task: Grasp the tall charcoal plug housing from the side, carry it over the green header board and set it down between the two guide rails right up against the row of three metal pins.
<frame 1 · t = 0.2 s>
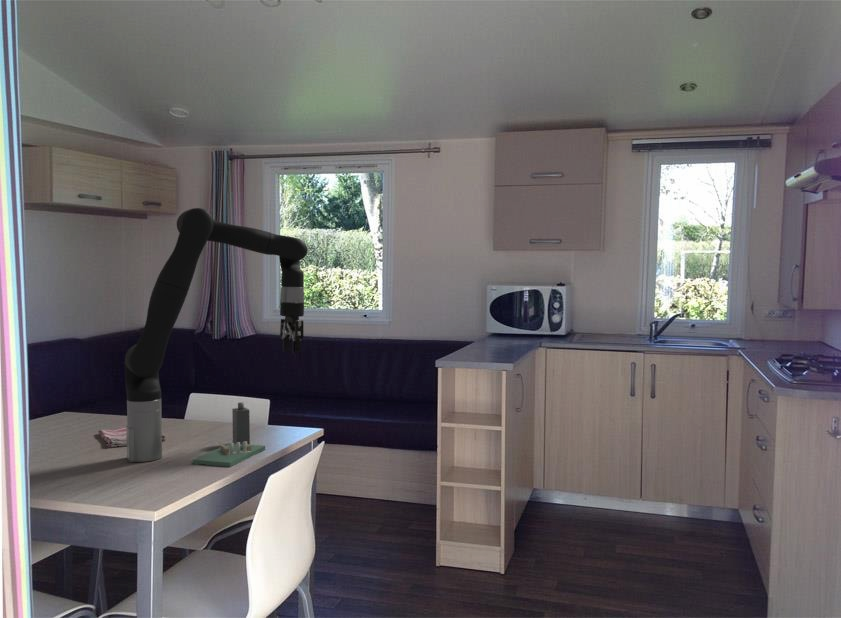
hand: (291, 352, 222), 29 cm above the table, tool pointing down, fingers open, 8 cm apart
plug housing: (241, 443, 219), on the table
dish towel: (131, 439, 227), on the table
header board: (230, 456, 203), on the table
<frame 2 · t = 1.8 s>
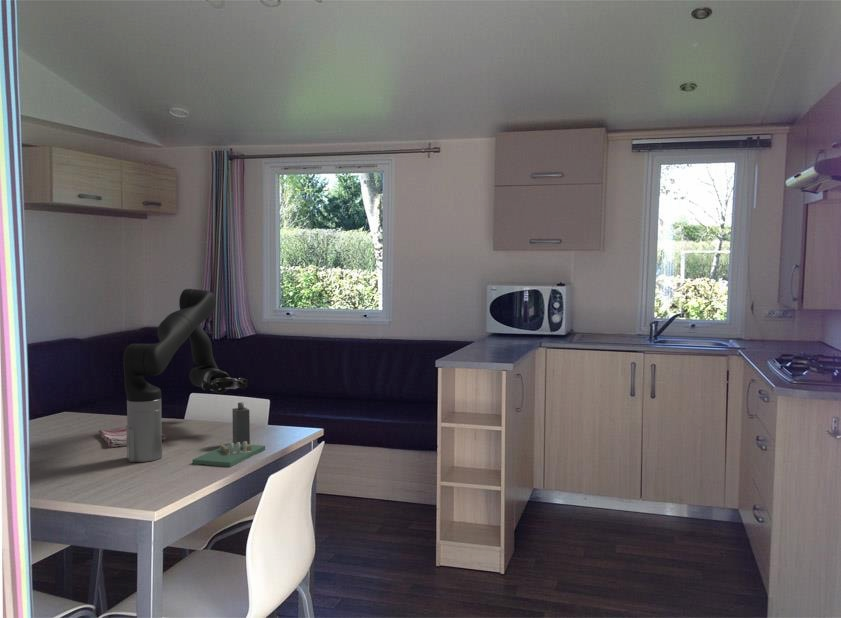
hand: (230, 387, 228), 16 cm above the table, tool horizontal, fingers open, 8 cm apart
nothing on the table moved.
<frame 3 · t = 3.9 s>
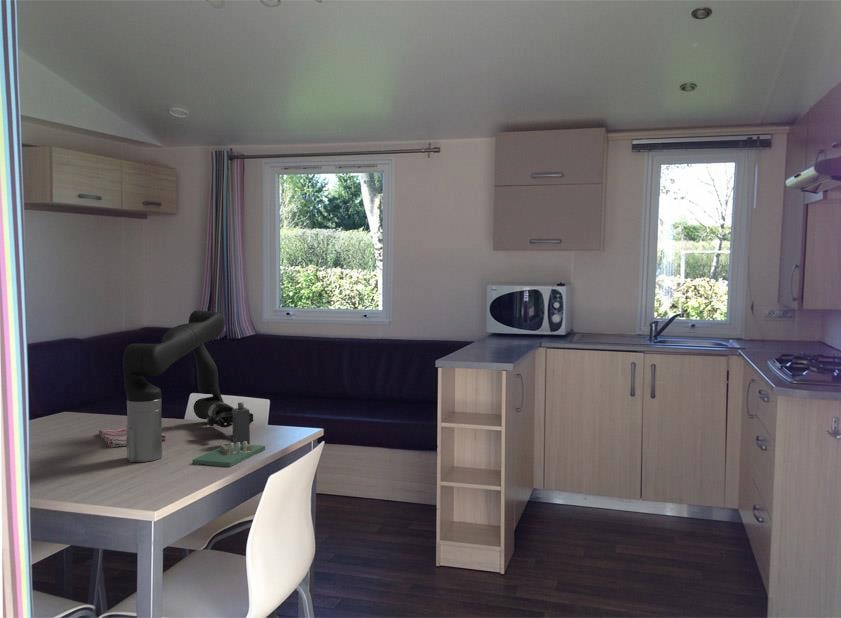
hand: (236, 422, 222), 6 cm above the table, tool horizontal, fingers open, 8 cm apart
nothing on the table moved.
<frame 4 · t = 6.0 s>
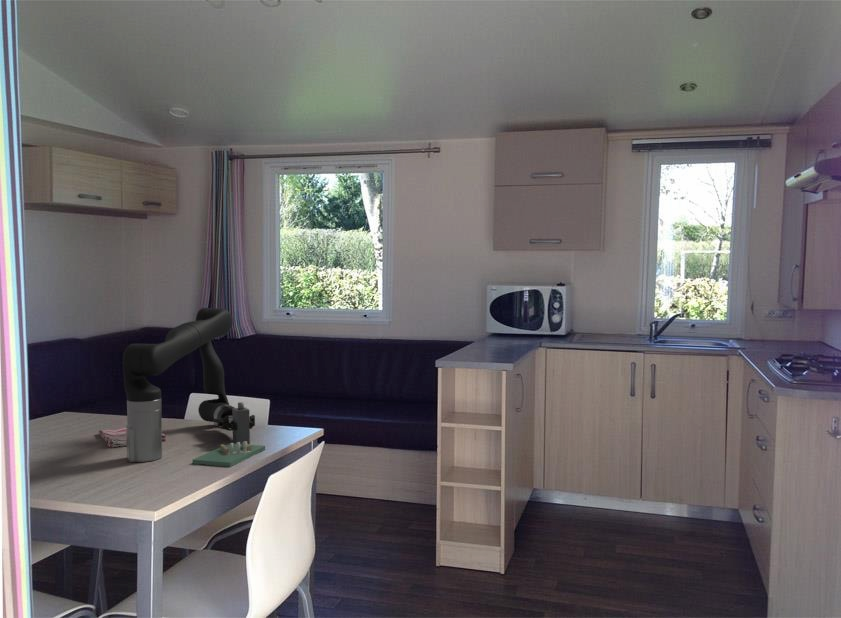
hand: (243, 426, 216), 6 cm above the table, tool horizontal, fingers closed on plug housing, 4 cm apart
plug housing: (241, 443, 219), on the table, touching gripper
everything else where it was.
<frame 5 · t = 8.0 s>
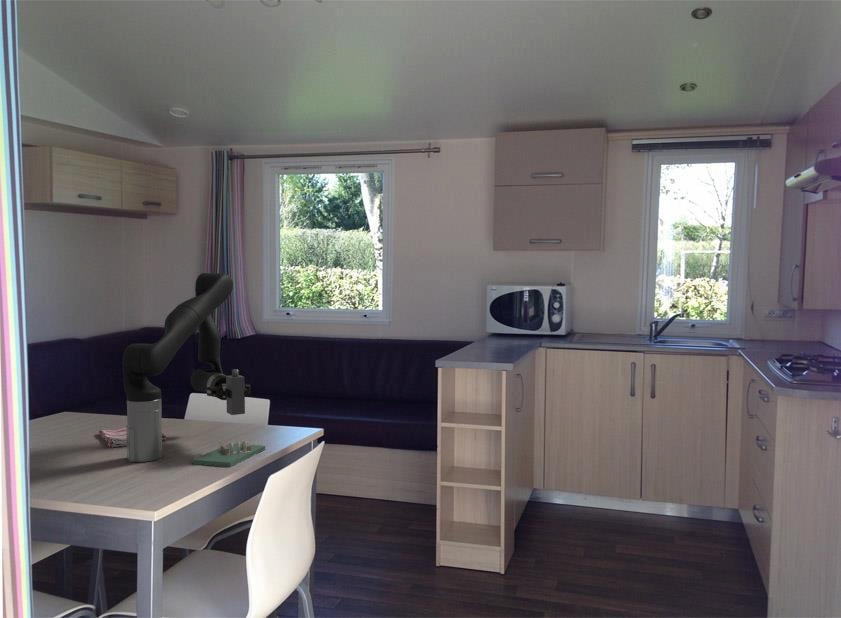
hand: (238, 394, 205), 18 cm above the table, tool horizontal, fingers closed on plug housing, 4 cm apart
plug housing: (235, 413, 208), point 12 cm above the table, touching gripper
everything else where it was.
when the fingers open (9 cm above the table, at t = 10.3 s): plug housing drops 1 cm, resting on header board.
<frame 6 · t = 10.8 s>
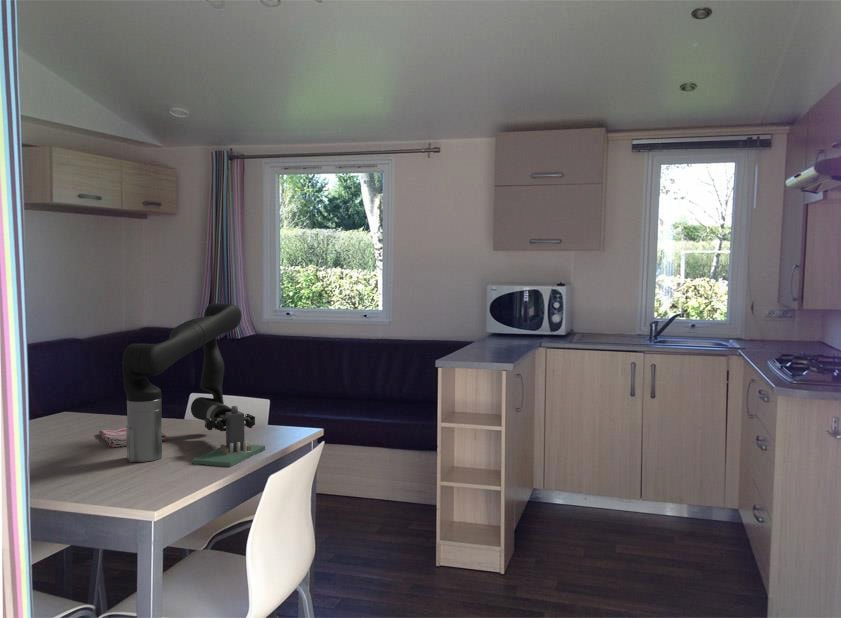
hand: (237, 426, 204), 9 cm above the table, tool horizontal, fingers open, 8 cm apart
plug housing: (235, 449, 206), point 1 cm above the table, touching header board
everything else where it was.
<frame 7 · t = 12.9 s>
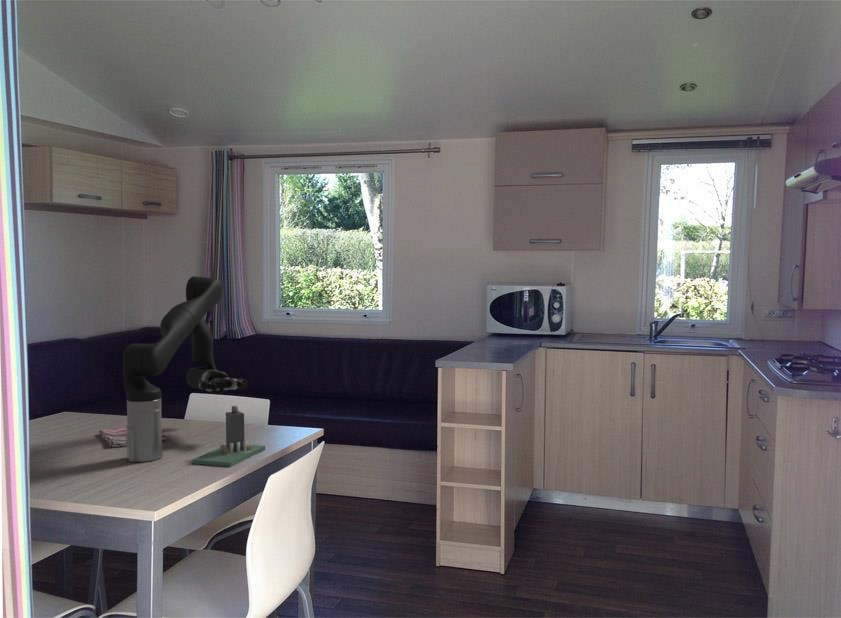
hand: (229, 386, 217), 18 cm above the table, tool horizontal, fingers open, 8 cm apart
nothing on the table moved.
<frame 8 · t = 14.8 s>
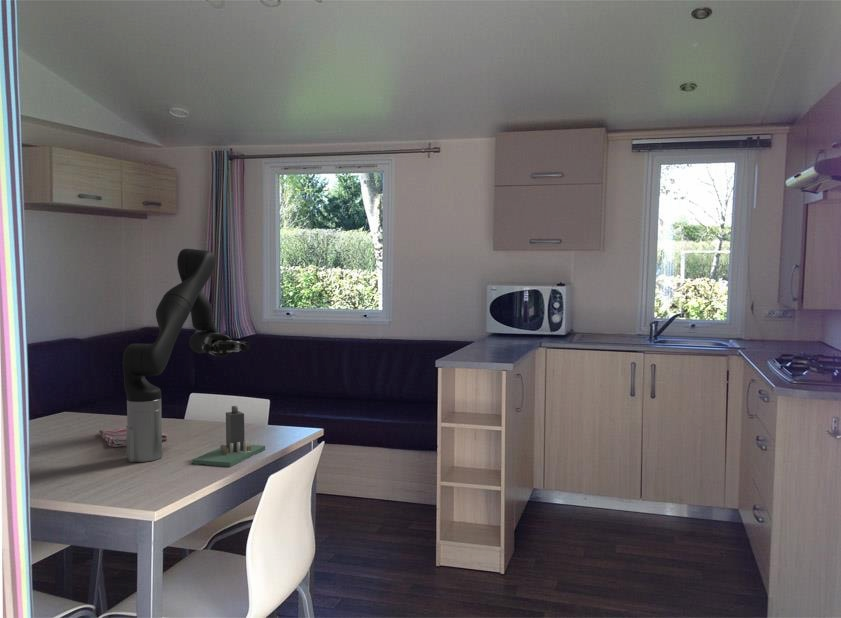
hand: (232, 348, 218), 30 cm above the table, tool horizontal, fingers open, 8 cm apart
nothing on the table moved.
at the end: plug housing 0.2 cm from the target spot on the header board, point 1.3 cm above the header board's base; plug housing tilted 1°; the gripper is holding nothing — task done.
